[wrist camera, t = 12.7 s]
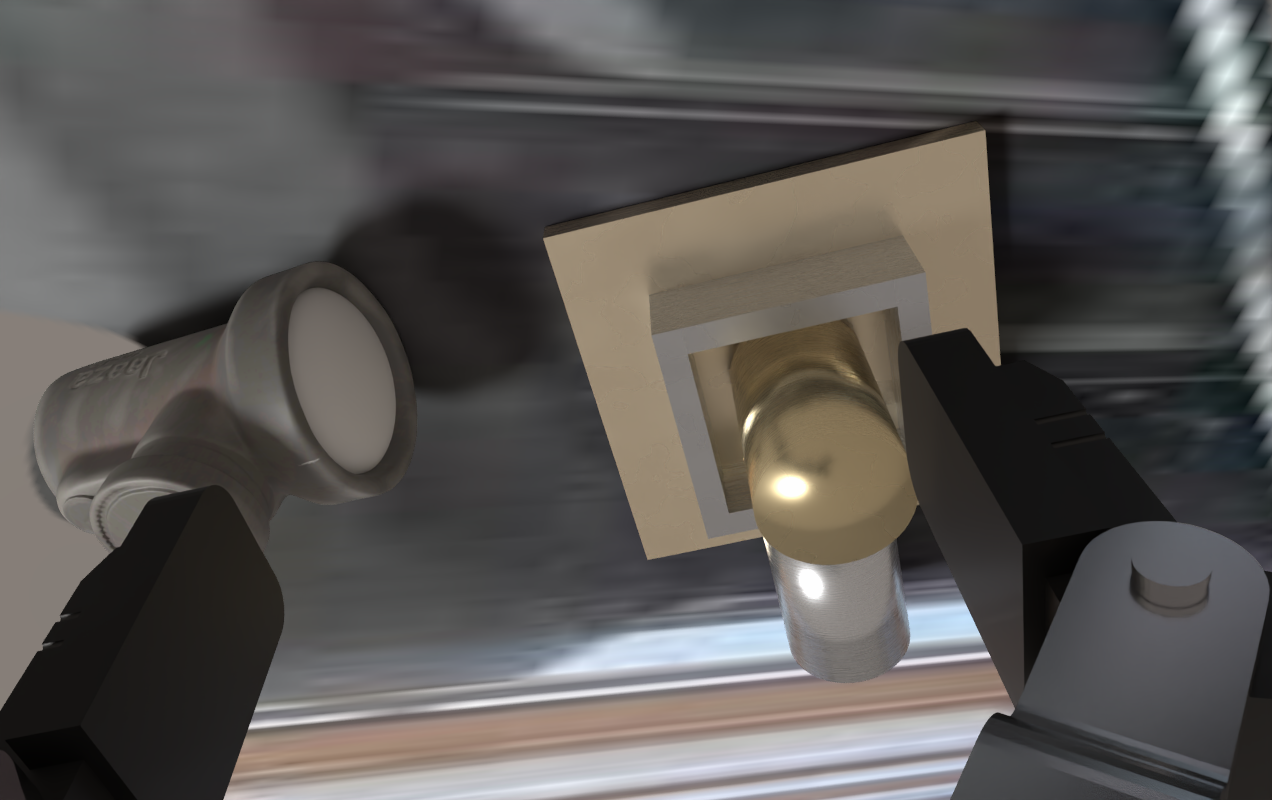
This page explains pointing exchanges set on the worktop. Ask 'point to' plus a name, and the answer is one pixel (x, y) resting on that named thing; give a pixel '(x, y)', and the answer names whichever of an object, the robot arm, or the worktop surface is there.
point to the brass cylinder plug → (819, 446)
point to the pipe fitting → (238, 410)
